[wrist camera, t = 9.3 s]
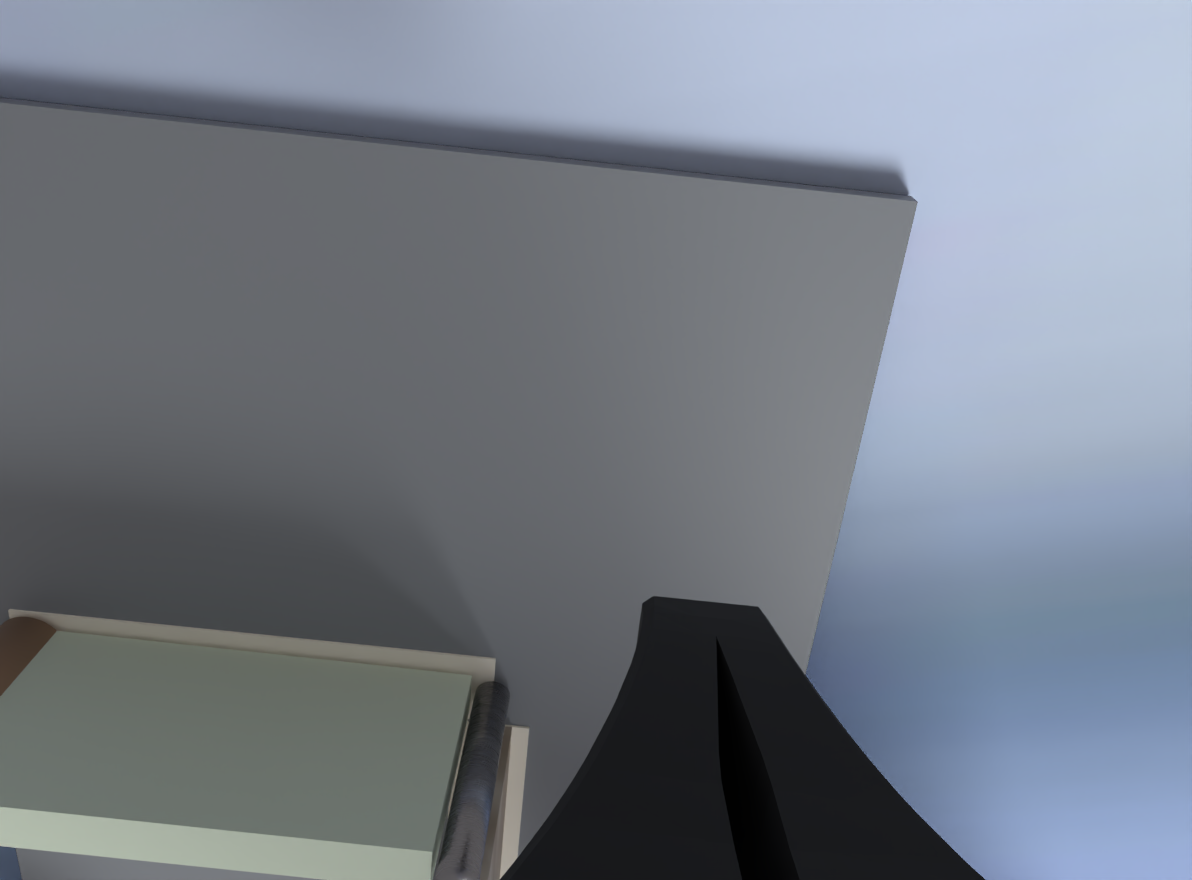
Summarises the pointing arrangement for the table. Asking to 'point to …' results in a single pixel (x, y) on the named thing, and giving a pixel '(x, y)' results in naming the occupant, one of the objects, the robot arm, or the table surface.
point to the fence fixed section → (497, 815)
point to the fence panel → (242, 758)
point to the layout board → (420, 407)
